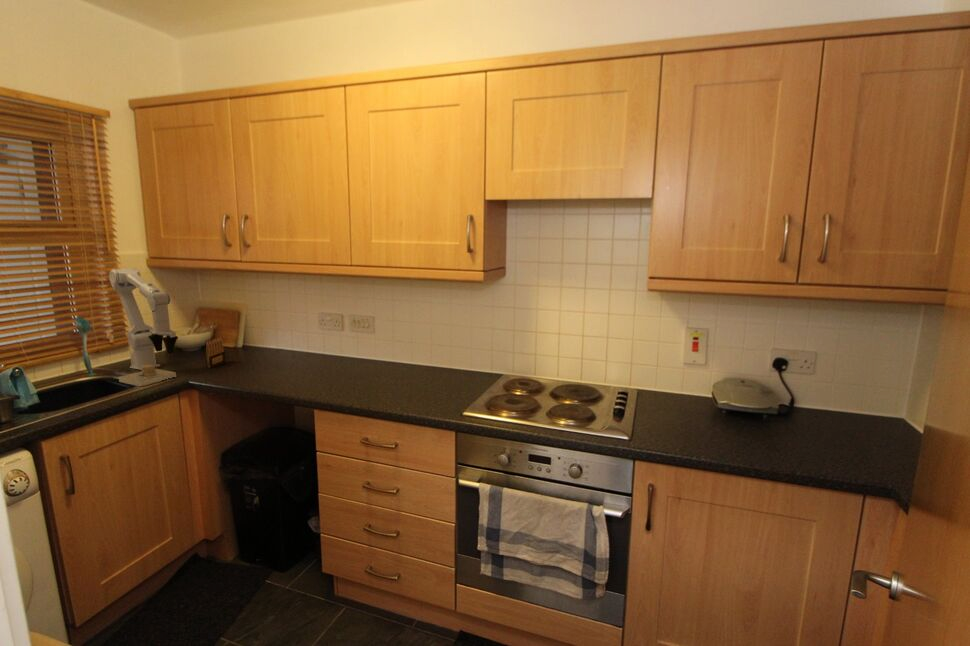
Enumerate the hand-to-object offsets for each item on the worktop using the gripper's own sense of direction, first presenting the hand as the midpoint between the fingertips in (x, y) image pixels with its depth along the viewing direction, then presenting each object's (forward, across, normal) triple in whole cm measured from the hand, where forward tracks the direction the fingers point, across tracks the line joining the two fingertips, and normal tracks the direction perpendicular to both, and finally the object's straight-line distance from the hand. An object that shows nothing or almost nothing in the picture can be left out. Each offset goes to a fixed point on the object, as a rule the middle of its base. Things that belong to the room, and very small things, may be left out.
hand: (164, 352), depth 211 cm
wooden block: (+9, +4, -10) cm, 13 cm away
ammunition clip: (+9, +8, +17) cm, 21 cm away
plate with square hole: (+9, +4, -10) cm, 14 cm away
